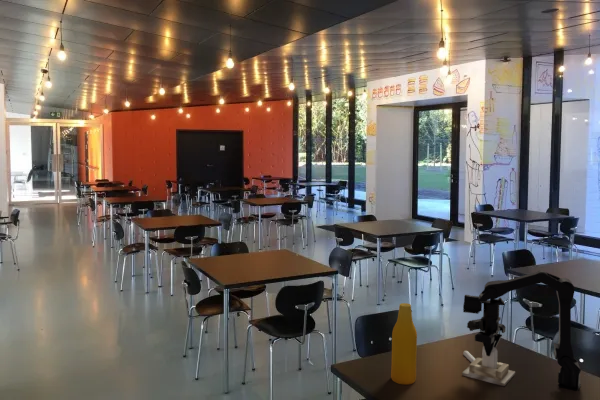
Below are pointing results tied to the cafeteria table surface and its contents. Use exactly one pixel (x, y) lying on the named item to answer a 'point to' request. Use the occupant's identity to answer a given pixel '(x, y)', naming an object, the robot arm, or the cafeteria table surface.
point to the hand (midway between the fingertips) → (489, 354)
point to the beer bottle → (404, 347)
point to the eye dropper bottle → (490, 358)
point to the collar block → (489, 372)
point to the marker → (469, 356)
